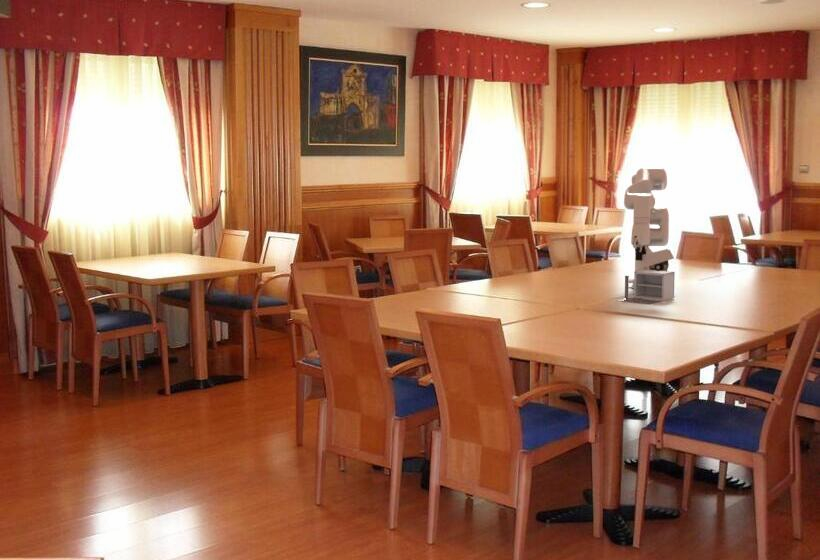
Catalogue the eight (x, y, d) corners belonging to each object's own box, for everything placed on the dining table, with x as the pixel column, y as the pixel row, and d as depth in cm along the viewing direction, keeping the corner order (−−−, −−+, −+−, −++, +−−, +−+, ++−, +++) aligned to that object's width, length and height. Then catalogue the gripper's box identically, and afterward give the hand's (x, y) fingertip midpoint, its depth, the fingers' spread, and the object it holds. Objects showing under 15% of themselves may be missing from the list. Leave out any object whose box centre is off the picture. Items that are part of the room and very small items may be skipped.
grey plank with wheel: (644, 275, 463) (674, 265, 456) (638, 255, 464) (668, 245, 457) (647, 275, 466) (677, 265, 459) (640, 255, 468) (670, 245, 460)
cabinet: (634, 297, 479) (634, 271, 478) (644, 295, 487) (644, 269, 485) (663, 300, 469) (664, 273, 467) (674, 298, 476) (674, 271, 474)
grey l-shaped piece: (615, 300, 471) (615, 277, 470) (627, 298, 479) (627, 275, 478) (649, 304, 459) (649, 280, 457) (661, 301, 467) (661, 278, 465)
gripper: (643, 219, 472) (642, 258, 474) (625, 221, 460) (624, 261, 462) (657, 220, 467) (656, 259, 469) (639, 222, 455) (639, 262, 457)
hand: (640, 259), depth 466 cm, fingers closed on grey plank with wheel, 3 cm apart
